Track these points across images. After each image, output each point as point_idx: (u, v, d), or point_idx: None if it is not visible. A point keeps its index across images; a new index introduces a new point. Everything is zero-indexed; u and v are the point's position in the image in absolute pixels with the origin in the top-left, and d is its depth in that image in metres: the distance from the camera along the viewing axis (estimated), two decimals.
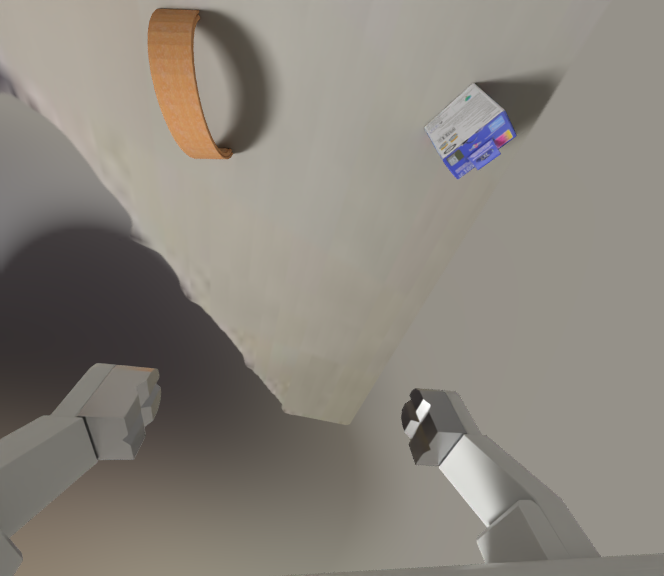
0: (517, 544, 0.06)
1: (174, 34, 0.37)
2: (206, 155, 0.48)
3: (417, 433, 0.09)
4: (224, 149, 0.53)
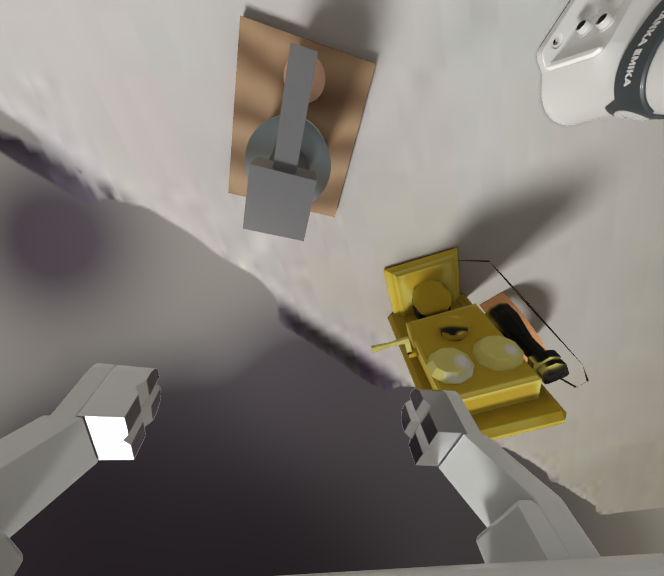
0: (517, 544, 0.06)
1: None
2: None
3: (417, 433, 0.09)
4: None
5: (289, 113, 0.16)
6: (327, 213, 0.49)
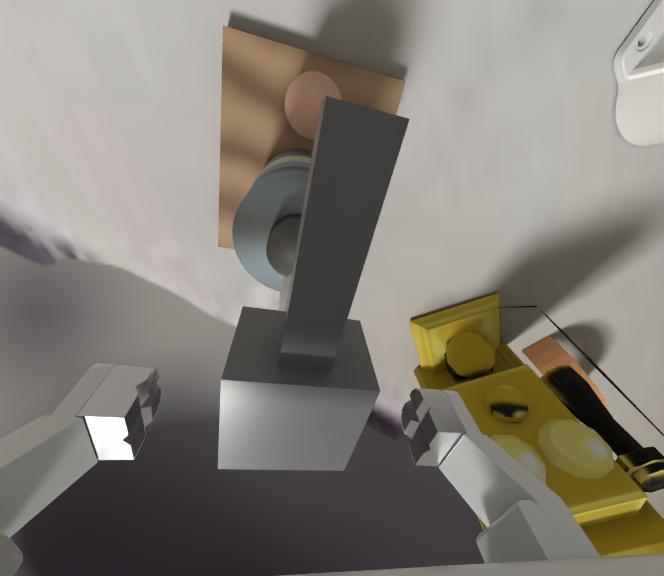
0: (517, 544, 0.06)
1: None
2: None
3: (417, 433, 0.09)
4: None
5: (318, 269, 0.06)
6: None
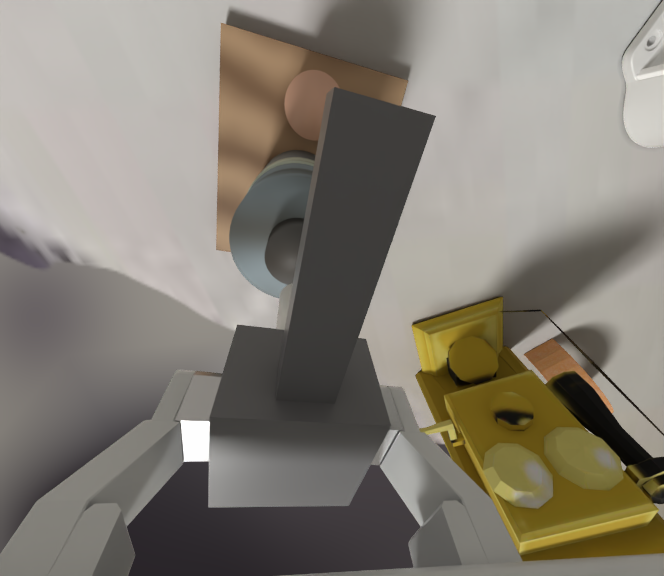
0: (439, 547, 0.06)
1: None
2: None
3: None
4: None
5: (321, 293, 0.05)
6: None
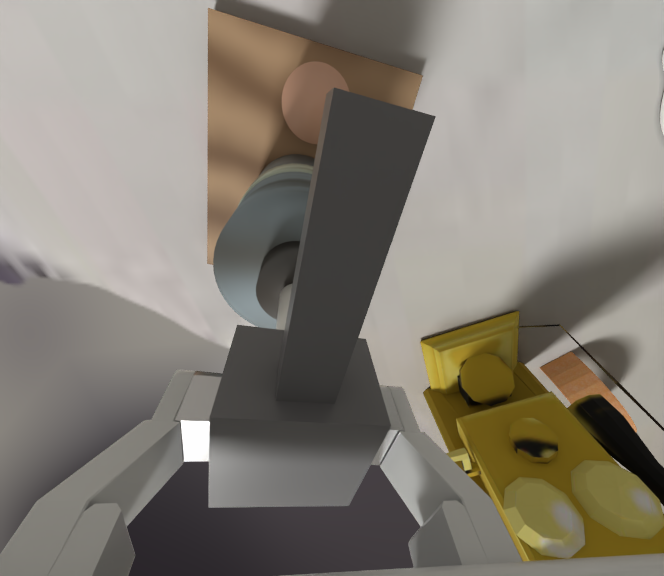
0: (439, 548, 0.06)
1: (589, 389, 0.45)
2: None
3: None
4: None
5: (321, 293, 0.05)
6: None
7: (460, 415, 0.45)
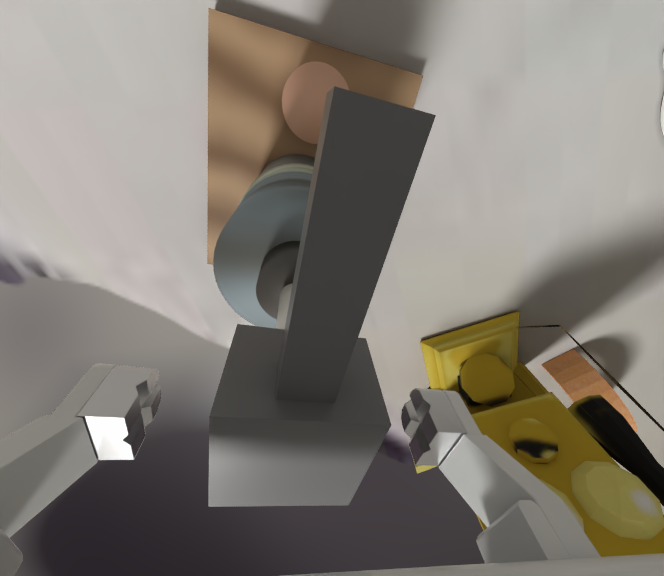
0: (517, 544, 0.06)
1: (591, 386, 0.45)
2: None
3: (417, 433, 0.09)
4: None
5: (321, 292, 0.05)
6: None
7: None
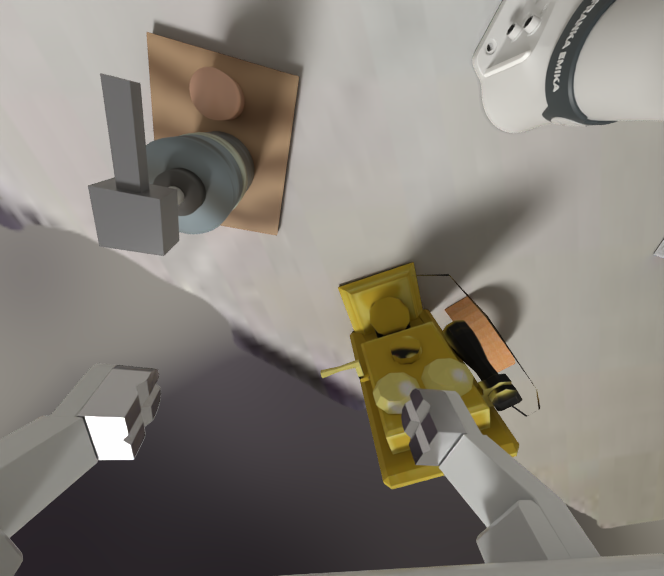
0: (517, 544, 0.06)
1: (476, 322, 0.56)
2: None
3: (417, 433, 0.09)
4: None
5: (117, 137, 0.16)
6: (268, 232, 0.47)
7: None
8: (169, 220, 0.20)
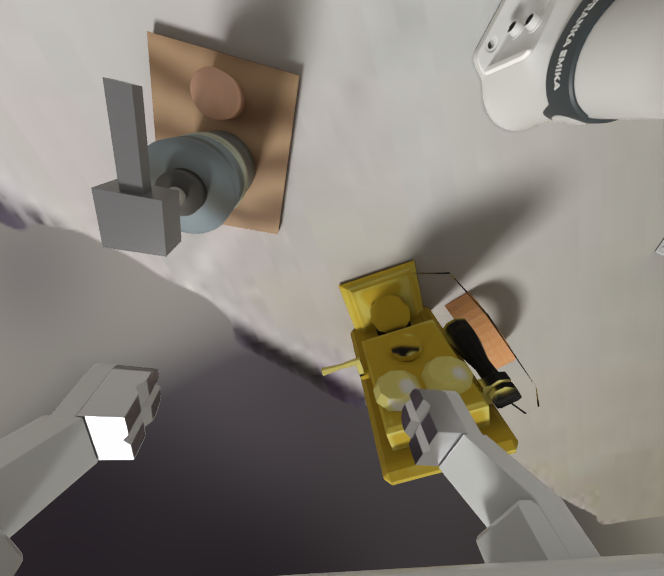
0: (517, 544, 0.06)
1: (476, 318, 0.56)
2: None
3: (417, 433, 0.09)
4: None
5: (120, 140, 0.17)
6: (269, 230, 0.47)
7: None
8: (171, 221, 0.20)
